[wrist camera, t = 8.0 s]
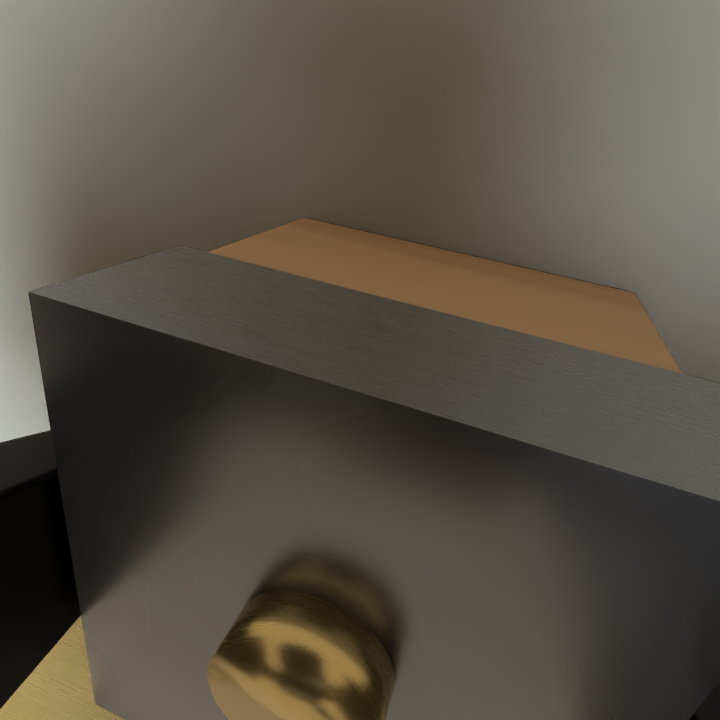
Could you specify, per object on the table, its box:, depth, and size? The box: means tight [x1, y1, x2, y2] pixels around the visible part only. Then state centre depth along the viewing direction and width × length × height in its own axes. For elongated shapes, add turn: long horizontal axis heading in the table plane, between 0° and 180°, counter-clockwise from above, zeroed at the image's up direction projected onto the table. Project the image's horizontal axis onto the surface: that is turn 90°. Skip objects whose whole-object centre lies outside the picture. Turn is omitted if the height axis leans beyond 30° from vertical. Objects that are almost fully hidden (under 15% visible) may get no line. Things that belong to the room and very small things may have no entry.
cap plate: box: [28, 245, 720, 720], centre depth 6 cm, size 7×6×3 cm
